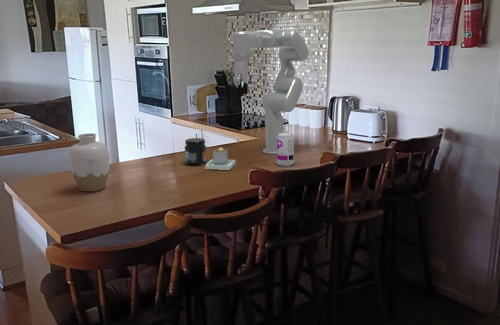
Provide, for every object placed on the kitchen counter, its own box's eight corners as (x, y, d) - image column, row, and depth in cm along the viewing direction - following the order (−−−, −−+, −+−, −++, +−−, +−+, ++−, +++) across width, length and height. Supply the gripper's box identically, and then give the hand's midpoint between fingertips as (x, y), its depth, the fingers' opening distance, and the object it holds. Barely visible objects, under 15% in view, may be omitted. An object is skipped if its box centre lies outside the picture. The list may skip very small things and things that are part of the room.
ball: (218, 153, 232) (218, 147, 232) (224, 154, 232) (224, 147, 232) (216, 153, 229) (217, 147, 229) (222, 154, 229) (223, 148, 229)
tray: (211, 163, 239) (211, 159, 238) (235, 164, 237) (235, 159, 236) (205, 170, 228) (204, 165, 227) (230, 171, 225) (229, 166, 225)
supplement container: (209, 161, 244) (208, 138, 241) (202, 166, 234) (201, 142, 231) (190, 160, 247) (189, 137, 244) (182, 165, 237) (180, 141, 234)
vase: (98, 181, 213) (93, 130, 208) (119, 187, 203) (115, 133, 198) (64, 190, 201) (58, 136, 196) (86, 197, 192) (80, 140, 186)
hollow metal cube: (216, 164, 235) (216, 149, 233) (227, 164, 234) (227, 149, 232) (213, 167, 230) (213, 152, 228) (225, 167, 229) (224, 152, 227)
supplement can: (280, 167, 230) (279, 136, 227) (274, 163, 238) (274, 133, 234) (296, 165, 232) (296, 135, 229) (290, 161, 240) (290, 132, 236)
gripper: (237, 57, 238) (238, 92, 243) (229, 59, 222) (230, 97, 226) (252, 57, 237) (253, 92, 241) (245, 59, 221) (246, 97, 225)
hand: (242, 94), depth 234 cm, fingers open, 9 cm apart
